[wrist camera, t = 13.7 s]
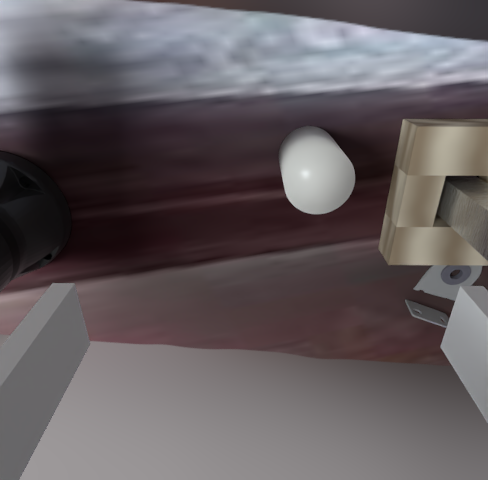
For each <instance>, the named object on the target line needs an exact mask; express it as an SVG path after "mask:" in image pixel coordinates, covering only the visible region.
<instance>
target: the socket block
mask: <svg viewBox="0 0 488 480" xmlns="http://www.w3.org/2000/svg"><path fill="white" fill-rule="evenodd" d="M446 176H479V179H481V180H483V181H484V182H486V183H488V119H403V122H402V127H401V133H400V138H399V143H398V148H397V154H396V159H395V164H394V169H393V175H392V180H391V185H390V190H389V195H388V201H387V206H386V211H385V216H384V222H383V227H382V232H381V237H380V242H379V248H378V249H379V250H380V252H381V253H382V255H383V257H384V258H385V260H386V262H387V263H388V265H484V266H488V261H487V260H486V259H485V258H484V257H483V256H482V255H481V254H480V253H479V252H478V251H476V250H475V249H474V248H473V247H472V246H471V245H470V244H469V243H468V242H467V241H466V240H465V239H464V238H462V237H461V236H460V235H459V234H458V233H457V232H456V231H455V230H454V229H453V228H452V227H451V226H450V225H448V224H447V223H446V222H445V221H444V220H443V219H442V218H441V217H440V216H439V215H438V214H437V213H436V212H437V208H438V204H439V200H440V196H441V192H442V189H443V185H444V181H445V177H446Z"/></svg>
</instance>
